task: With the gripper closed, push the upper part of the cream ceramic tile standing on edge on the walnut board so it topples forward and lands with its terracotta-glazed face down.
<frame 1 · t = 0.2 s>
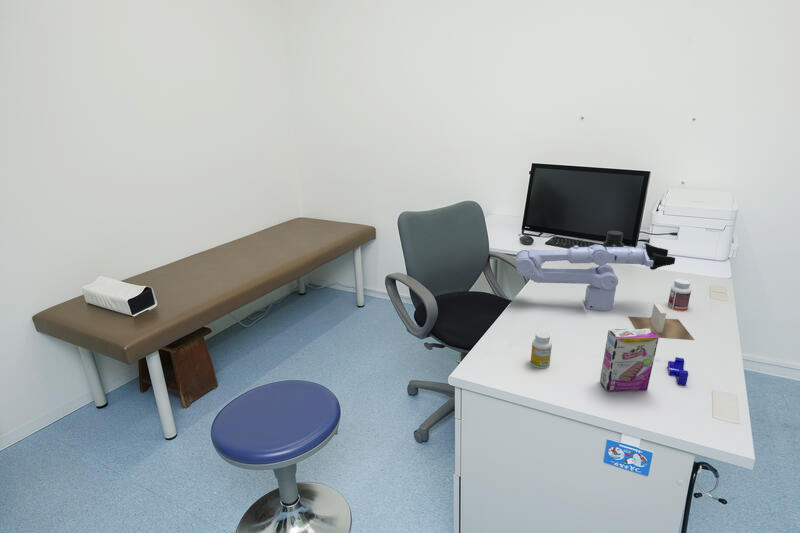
hand: (671, 256, 155), 21 cm above the table, tool horizontal, fingers open, 7 cm apart
supplement bottle: (540, 364, 135), on the table
cable holder: (675, 377, 128), on the table
tile: (656, 327, 151), point 1 cm above the table, touching board
ink bottle: (611, 257, 217), on the table
board: (659, 330, 151), on the table
candy bar box: (623, 386, 124), on the table
pill bottle: (676, 310, 165), on the table
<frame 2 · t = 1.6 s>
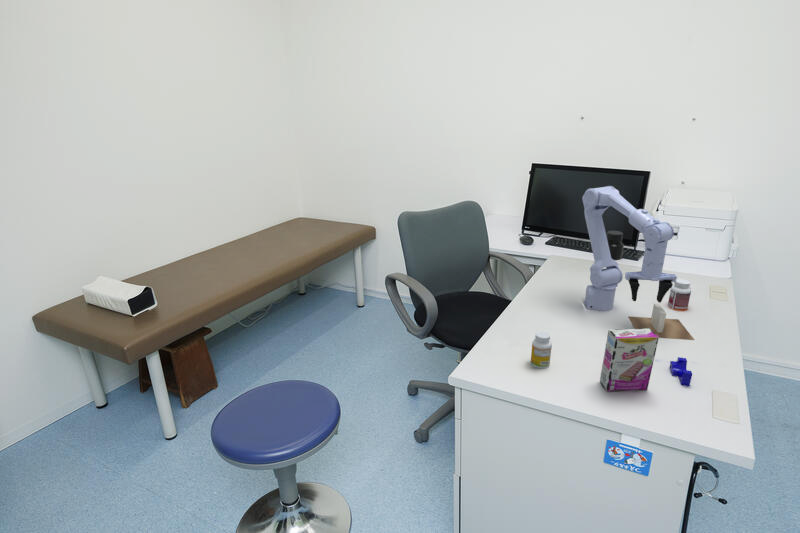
hand: (646, 300, 149), 10 cm above the table, tool pointing down, fingers open, 7 cm apart
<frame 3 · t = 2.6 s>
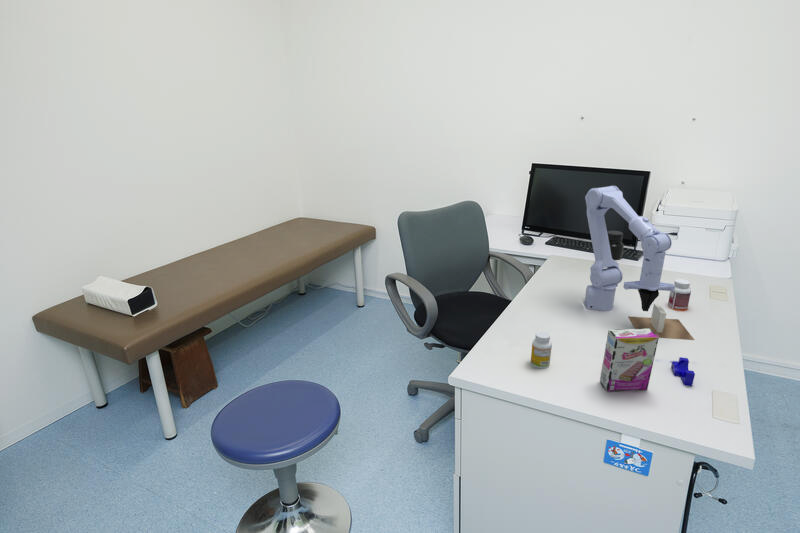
hand: (644, 309, 150), 7 cm above the table, tool pointing down, fingers closed
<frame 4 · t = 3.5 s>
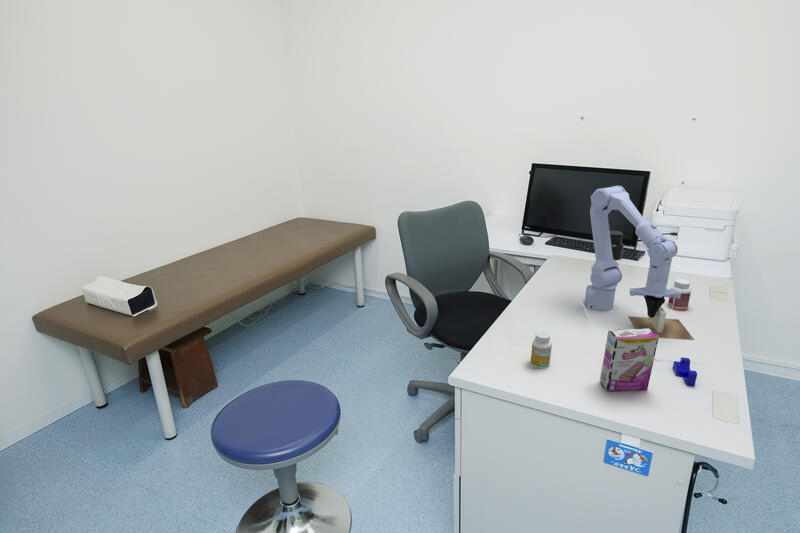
hand: (650, 316, 150), 5 cm above the table, tool pointing down, fingers closed
tile: (656, 327, 151), point 1 cm above the table, touching board, gripper
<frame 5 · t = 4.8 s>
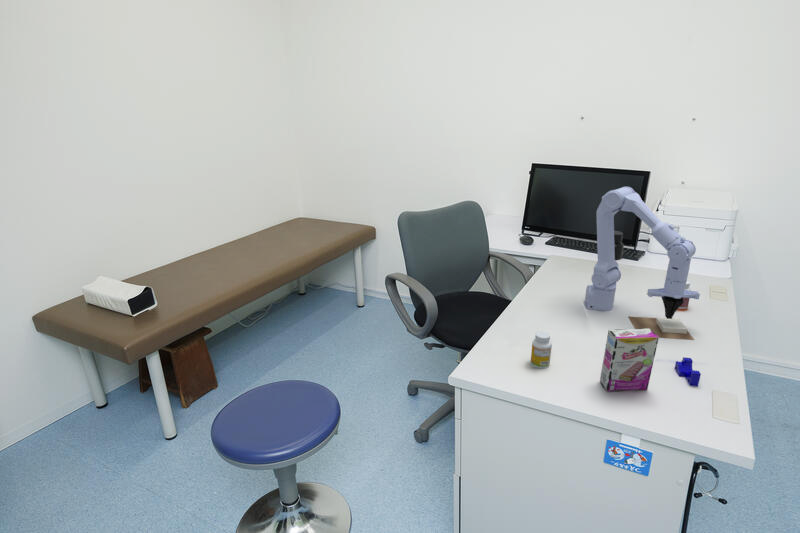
hand: (668, 317, 149), 5 cm above the table, tool pointing down, fingers closed
tile: (659, 324, 151), point 2 cm above the table, tilted 90°, touching board
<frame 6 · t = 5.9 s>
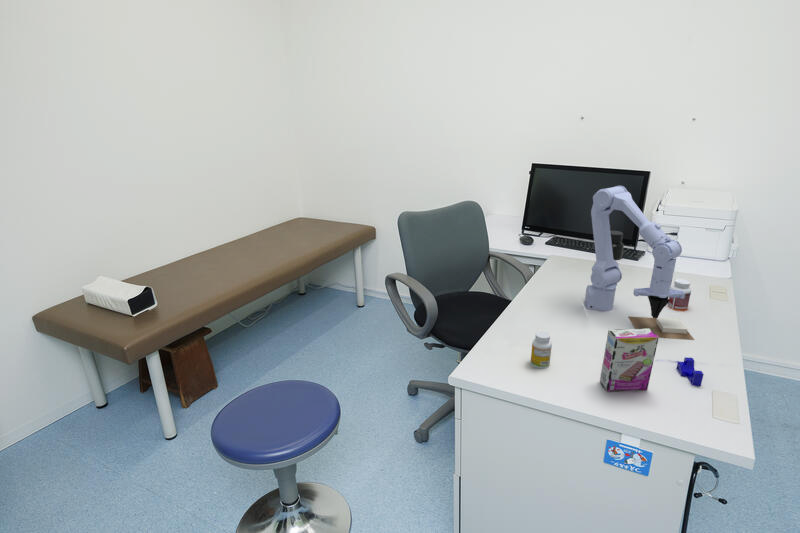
hand: (654, 316, 150), 5 cm above the table, tool pointing down, fingers closed
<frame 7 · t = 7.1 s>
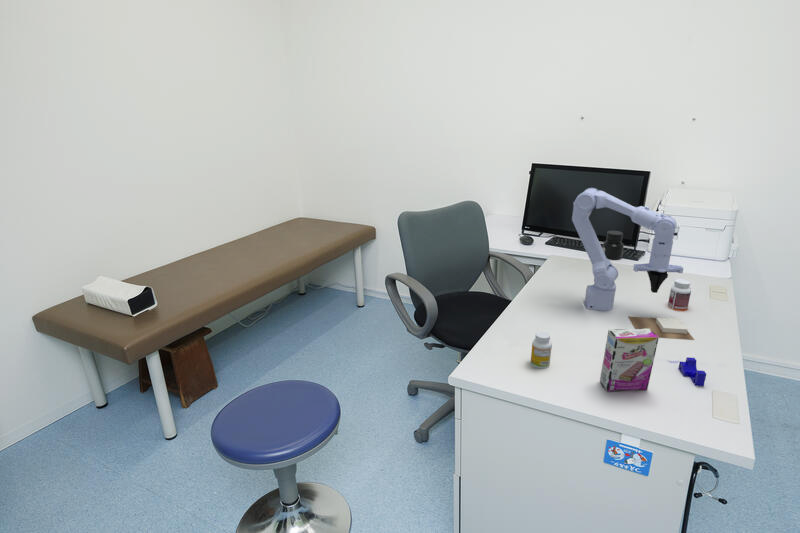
hand: (653, 291, 155), 10 cm above the table, tool pointing down, fingers closed
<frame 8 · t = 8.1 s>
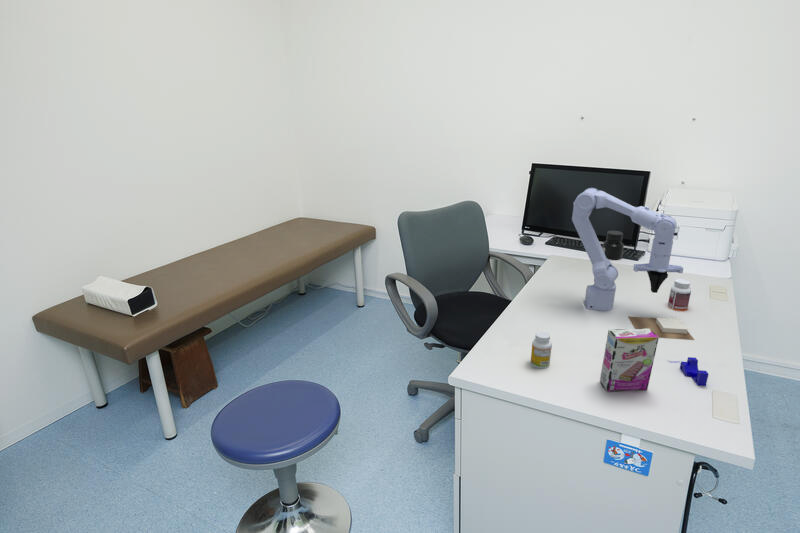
hand: (653, 291, 155), 10 cm above the table, tool pointing down, fingers closed
at the end: tile tilted 90°; tile inside the target area on the board (0.9 cm from its centre), point 1.9 cm above the board's base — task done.
